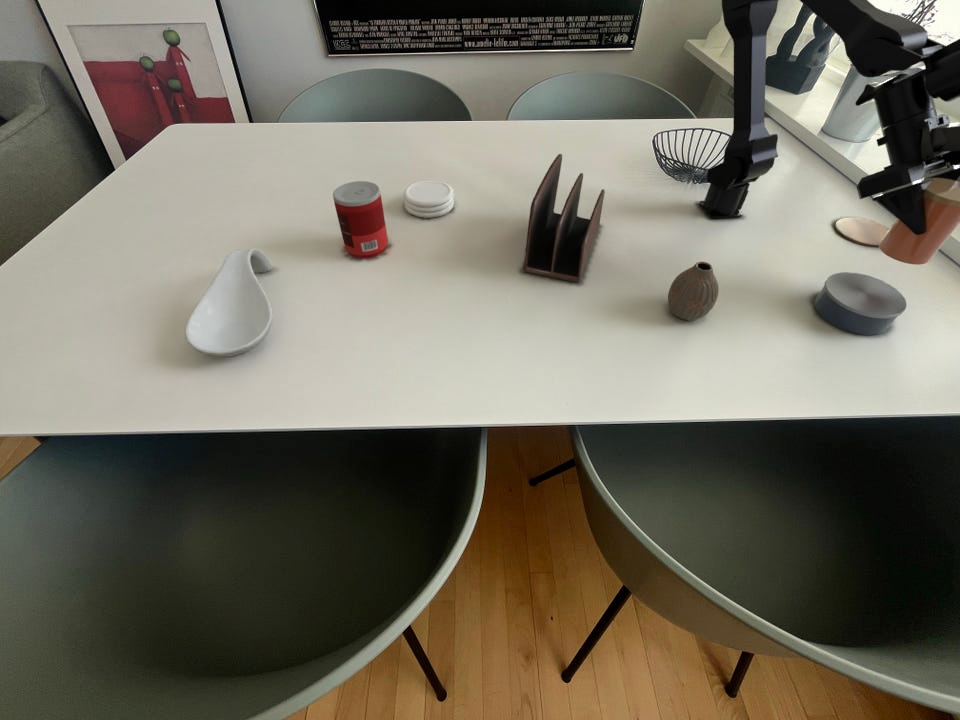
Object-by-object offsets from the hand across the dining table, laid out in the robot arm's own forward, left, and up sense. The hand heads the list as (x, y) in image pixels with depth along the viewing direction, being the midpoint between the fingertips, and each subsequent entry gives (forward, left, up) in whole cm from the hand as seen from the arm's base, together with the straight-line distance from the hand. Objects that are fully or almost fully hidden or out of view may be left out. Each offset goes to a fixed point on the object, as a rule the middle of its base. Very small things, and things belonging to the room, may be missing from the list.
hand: (935, 228), depth 68 cm
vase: (-32, +1, -14) cm, 35 cm away
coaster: (-71, +39, -14) cm, 82 cm away
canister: (-1, +1, -5) cm, 5 cm away
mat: (+12, +20, -13) cm, 27 cm away
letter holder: (-47, +21, -14) cm, 53 cm away
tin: (-6, -2, -13) cm, 15 cm away
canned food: (-83, +25, -14) cm, 88 cm away
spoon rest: (-101, +8, -14) cm, 102 cm away
